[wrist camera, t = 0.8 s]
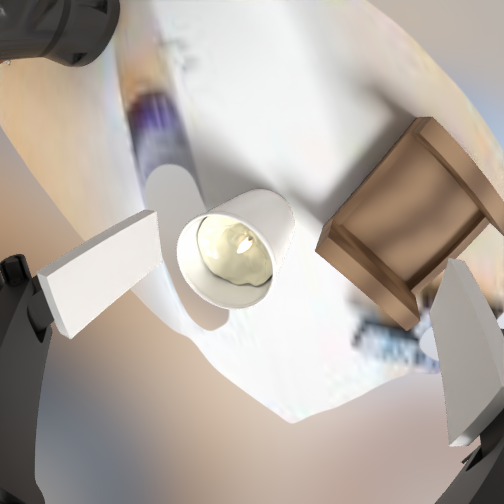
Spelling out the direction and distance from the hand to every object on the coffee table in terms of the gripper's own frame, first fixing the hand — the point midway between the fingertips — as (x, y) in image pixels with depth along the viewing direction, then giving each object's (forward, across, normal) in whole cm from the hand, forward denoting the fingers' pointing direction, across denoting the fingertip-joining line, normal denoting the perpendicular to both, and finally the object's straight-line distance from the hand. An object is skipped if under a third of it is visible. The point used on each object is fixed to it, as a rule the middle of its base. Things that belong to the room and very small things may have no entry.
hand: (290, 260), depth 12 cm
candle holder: (+22, -8, -7) cm, 25 cm away
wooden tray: (+22, +10, -3) cm, 25 cm away
